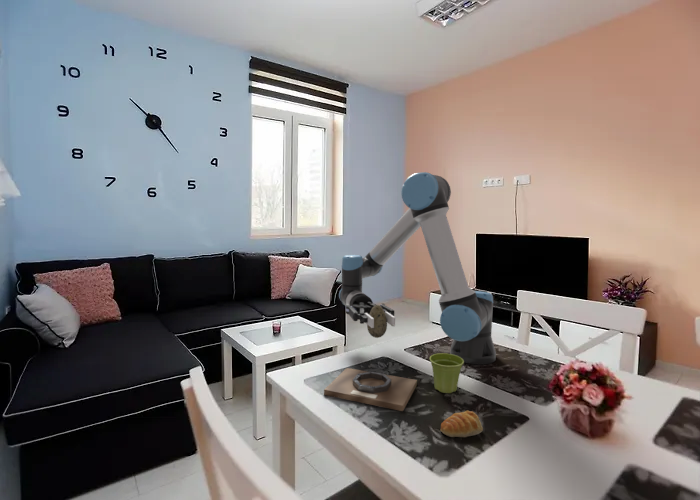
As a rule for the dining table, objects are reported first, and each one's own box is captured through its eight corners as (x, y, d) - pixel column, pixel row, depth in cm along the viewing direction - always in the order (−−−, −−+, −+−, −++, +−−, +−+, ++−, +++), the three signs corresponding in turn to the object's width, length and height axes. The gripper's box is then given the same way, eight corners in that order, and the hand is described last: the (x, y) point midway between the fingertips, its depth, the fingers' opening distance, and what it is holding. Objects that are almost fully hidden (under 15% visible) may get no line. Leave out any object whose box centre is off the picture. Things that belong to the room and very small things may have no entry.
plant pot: (464, 398, 104) (465, 367, 103) (428, 394, 106) (429, 364, 105) (461, 383, 113) (462, 354, 112) (428, 380, 115) (429, 352, 114)
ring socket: (394, 380, 111) (394, 375, 111) (383, 395, 102) (383, 390, 102) (361, 374, 115) (361, 369, 115) (348, 388, 106) (348, 383, 105)
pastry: (452, 444, 84) (452, 427, 84) (433, 428, 90) (433, 412, 90) (485, 434, 88) (485, 418, 88) (464, 419, 94) (465, 404, 94)
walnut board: (416, 385, 112) (416, 379, 112) (402, 411, 97) (403, 404, 97) (346, 372, 120) (346, 367, 120) (324, 394, 105) (324, 388, 105)
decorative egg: (363, 337, 116) (363, 305, 115) (373, 332, 121) (374, 301, 120) (380, 341, 113) (380, 308, 112) (390, 336, 118) (391, 304, 117)
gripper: (384, 312, 136) (412, 332, 114) (332, 316, 131) (351, 337, 109) (385, 291, 136) (413, 308, 113) (333, 294, 130) (352, 311, 108)
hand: (383, 322), depth 111 cm, fingers closed on decorative egg, 6 cm apart
